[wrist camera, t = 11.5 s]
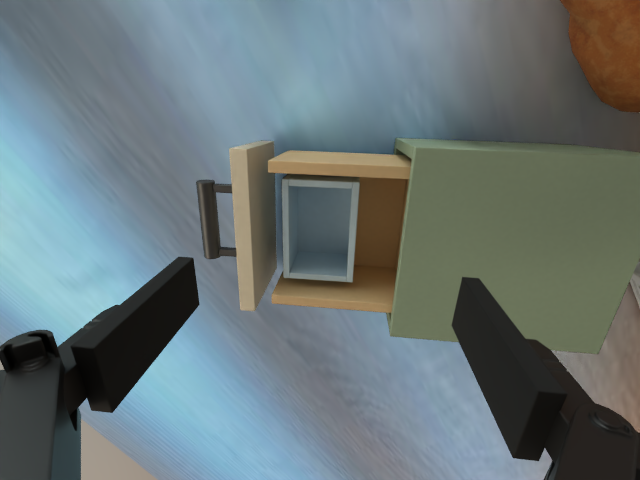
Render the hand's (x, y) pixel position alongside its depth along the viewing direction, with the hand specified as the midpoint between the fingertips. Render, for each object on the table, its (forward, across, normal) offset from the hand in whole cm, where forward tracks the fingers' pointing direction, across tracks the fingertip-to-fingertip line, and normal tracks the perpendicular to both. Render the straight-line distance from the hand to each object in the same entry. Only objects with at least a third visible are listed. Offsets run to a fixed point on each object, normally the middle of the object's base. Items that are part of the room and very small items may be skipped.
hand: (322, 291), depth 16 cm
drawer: (+15, -2, 0) cm, 15 cm away
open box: (+14, -1, 0) cm, 14 cm away
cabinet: (+16, +12, 0) cm, 20 cm away
